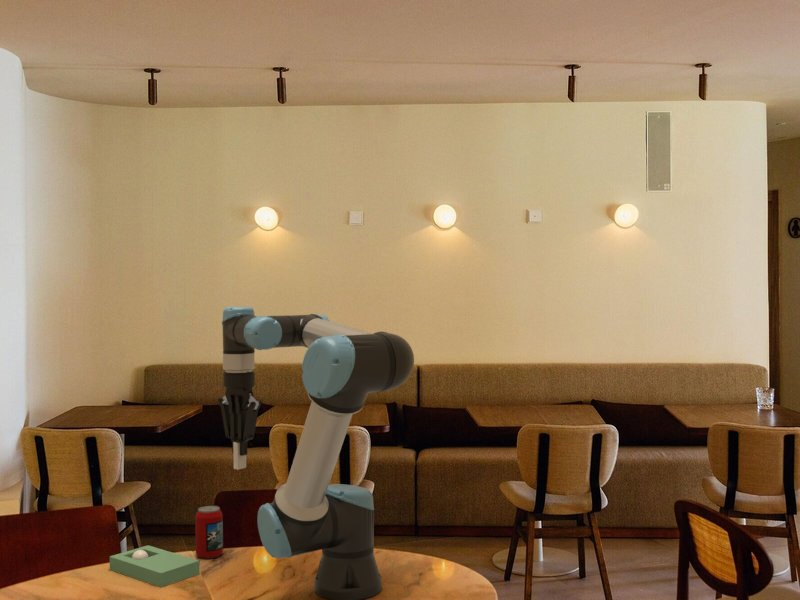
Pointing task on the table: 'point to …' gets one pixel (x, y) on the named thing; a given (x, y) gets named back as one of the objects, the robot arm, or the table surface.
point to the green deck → (155, 566)
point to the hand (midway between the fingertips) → (239, 468)
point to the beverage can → (209, 532)
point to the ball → (139, 555)
